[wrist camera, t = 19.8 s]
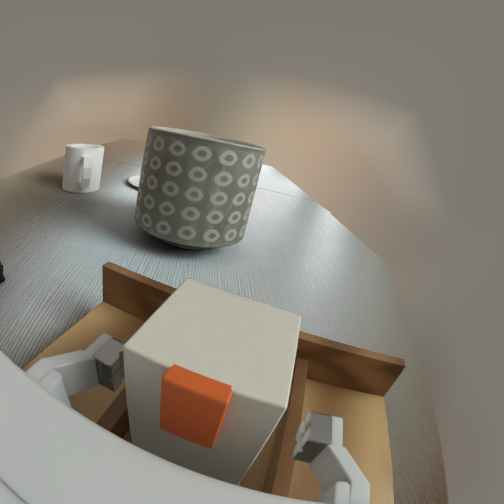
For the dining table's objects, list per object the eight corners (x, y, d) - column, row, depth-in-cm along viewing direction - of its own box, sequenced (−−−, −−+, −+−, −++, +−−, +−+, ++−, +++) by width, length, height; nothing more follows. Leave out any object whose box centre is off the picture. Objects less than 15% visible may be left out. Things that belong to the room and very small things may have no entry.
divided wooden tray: (370, 405, 24) (403, 359, 22) (373, 553, 10) (436, 526, 7) (109, 316, 28) (108, 261, 25) (5, 413, 13) (-26, 354, 10)
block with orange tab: (267, 380, 22) (314, 261, 18) (226, 515, 11) (299, 424, 7) (197, 356, 23) (223, 232, 19) (127, 476, 12) (102, 348, 8)
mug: (106, 196, 62) (112, 151, 58) (66, 197, 55) (70, 150, 51) (94, 182, 70) (99, 144, 66) (60, 183, 63) (64, 143, 59)
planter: (225, 225, 62) (246, 141, 56) (253, 270, 46) (285, 155, 39) (136, 215, 55) (150, 124, 48) (129, 259, 39) (147, 128, 32)
